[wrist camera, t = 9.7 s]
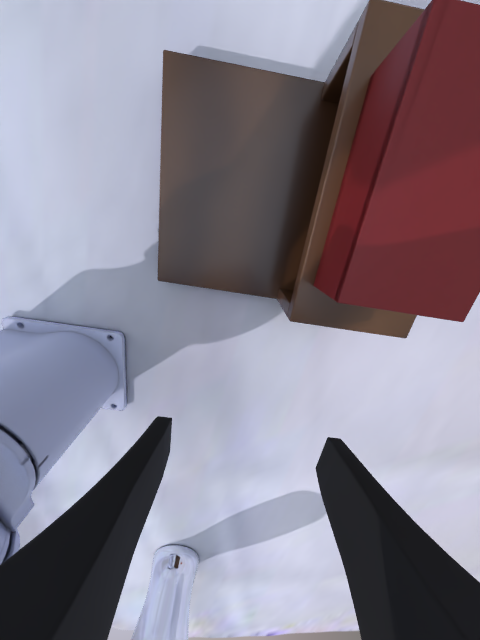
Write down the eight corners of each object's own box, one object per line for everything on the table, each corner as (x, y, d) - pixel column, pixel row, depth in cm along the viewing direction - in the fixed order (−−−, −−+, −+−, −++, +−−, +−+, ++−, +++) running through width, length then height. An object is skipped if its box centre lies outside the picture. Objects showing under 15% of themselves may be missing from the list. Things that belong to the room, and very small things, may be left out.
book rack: (164, 277, 17) (126, 297, 11) (171, 68, 13) (116, -63, 7) (354, 306, 18) (407, 339, 12) (420, 118, 13) (547, 35, 8)
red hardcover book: (312, 285, 11) (337, 303, 8) (370, 75, 8) (436, -7, 5) (408, 301, 11) (463, 322, 9) (495, 101, 9) (620, 35, 6)
